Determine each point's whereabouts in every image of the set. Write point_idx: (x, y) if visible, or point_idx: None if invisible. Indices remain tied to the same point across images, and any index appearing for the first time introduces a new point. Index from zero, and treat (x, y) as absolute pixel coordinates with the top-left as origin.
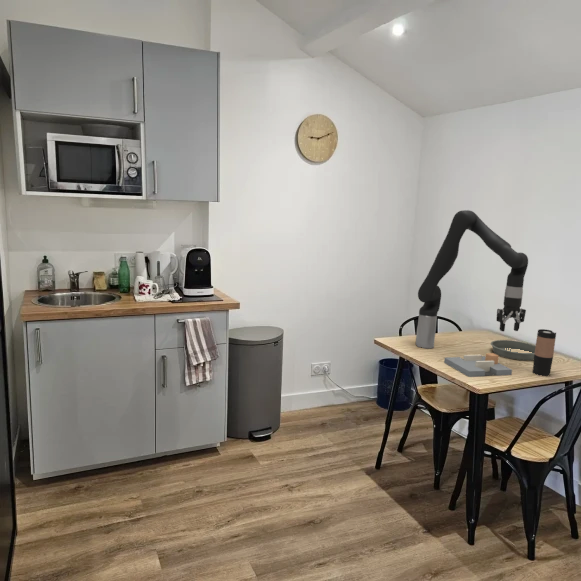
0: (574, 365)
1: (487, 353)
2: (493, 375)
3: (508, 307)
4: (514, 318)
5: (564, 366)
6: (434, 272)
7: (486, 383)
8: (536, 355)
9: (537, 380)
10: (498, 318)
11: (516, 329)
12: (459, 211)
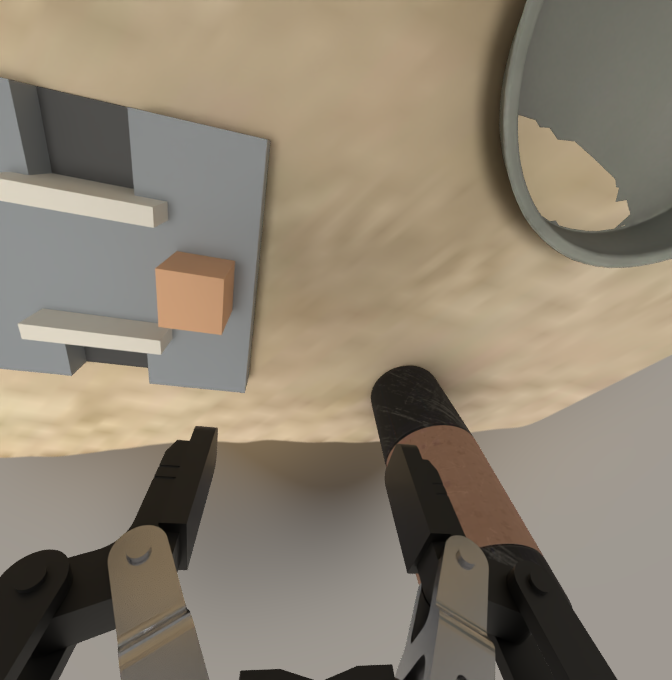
0: (664, 355)
1: (167, 272)
2: (142, 366)
3: None
4: (426, 627)
5: (608, 354)
6: None
7: (44, 424)
8: (388, 455)
9: (308, 441)
10: (11, 638)
11: (388, 488)
12: None
